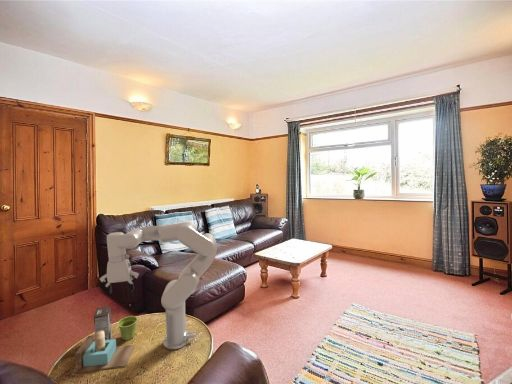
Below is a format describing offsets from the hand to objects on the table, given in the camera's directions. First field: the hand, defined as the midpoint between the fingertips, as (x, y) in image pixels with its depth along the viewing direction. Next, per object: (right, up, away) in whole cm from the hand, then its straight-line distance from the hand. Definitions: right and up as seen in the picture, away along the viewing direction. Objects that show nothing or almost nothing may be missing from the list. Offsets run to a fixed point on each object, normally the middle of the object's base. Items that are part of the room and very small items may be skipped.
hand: (121, 292), depth 125 cm
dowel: (-6, -28, -6) cm, 29 cm away
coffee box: (-12, -28, +7) cm, 31 cm away
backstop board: (-4, -29, -5) cm, 29 cm away
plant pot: (-1, -28, +10) cm, 30 cm away
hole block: (-6, -29, -6) cm, 30 cm away
